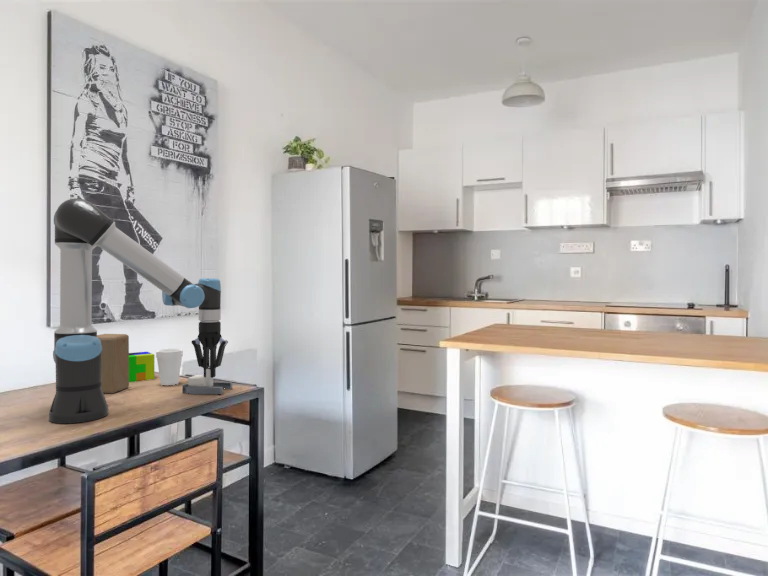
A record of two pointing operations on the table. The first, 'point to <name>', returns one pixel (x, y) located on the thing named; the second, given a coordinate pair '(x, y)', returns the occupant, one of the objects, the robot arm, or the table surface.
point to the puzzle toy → (141, 366)
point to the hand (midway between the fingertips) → (209, 386)
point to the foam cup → (169, 365)
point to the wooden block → (114, 362)
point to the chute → (207, 388)
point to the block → (197, 380)
